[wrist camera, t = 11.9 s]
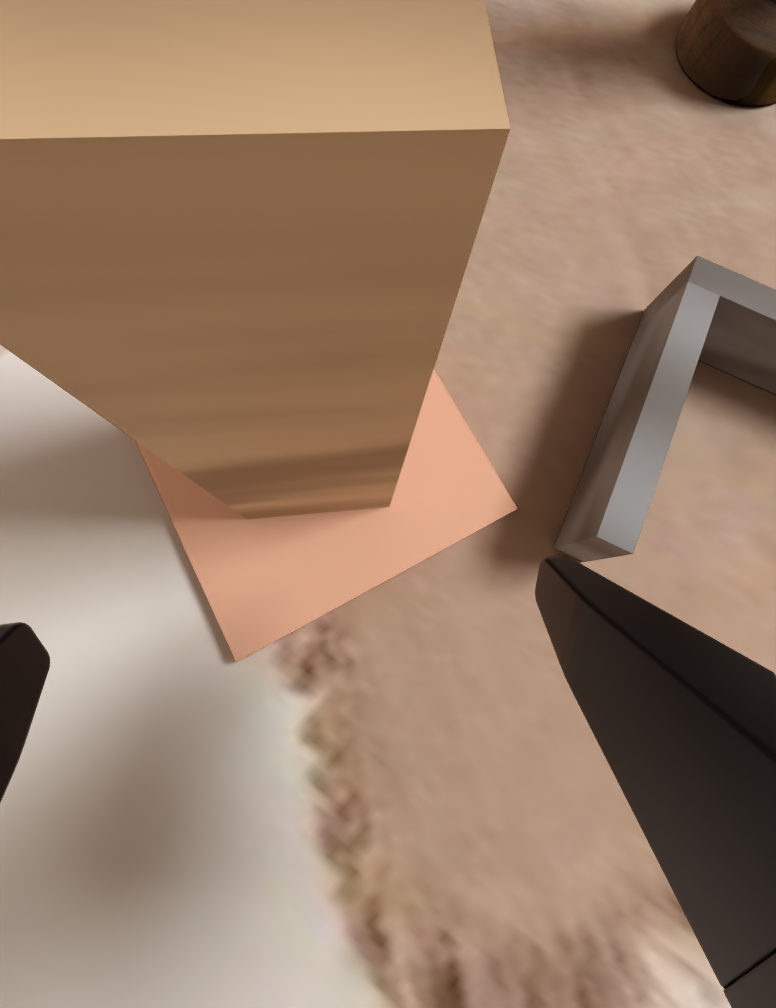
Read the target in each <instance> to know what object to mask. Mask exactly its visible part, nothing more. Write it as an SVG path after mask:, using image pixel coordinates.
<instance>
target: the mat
mask: <svg viewBox="0 0 776 1008" xmlns="http://www.w3.org/2000/svg"><path fill="white" fill-rule="evenodd" d="M135 441H136V440H135ZM136 443H137V446H138V448H139V450H140V452H141V454H142V456H143V459H144V461H145V463H146V465H147V467H148V470H149V472H150V474H151V476H152V478H153V481H154V483H155V485H156V487H157V489H158V492H159V494H160V496H161V498H162V500H163V503H164V505H165V507H166V509H167V511H168V514H169V516H170V518H171V520H172V522H173V525H174V527H175V529H176V531H177V533H178V536H179V538H180V540H181V542H182V544H183V547H184V549H185V551H186V553H187V555H188V558H189V560H190V562H191V564H192V566H193V569H194V571H195V573H196V575H197V577H198V580H199V582H200V584H201V586H202V588H203V590H204V593H205V595H206V597H207V599H208V601H209V604H210V606H211V608H212V610H213V612H214V615H215V617H216V619H217V621H218V623H219V626H220V628H221V630H222V632H223V634H224V637H225V639H226V641H227V643H228V645H229V648H230V650H231V652H232V654H233V656H234V659H235V661H236V662H238V661H240V660H242V659H243V658H245V657H247V656H249V655H251V654H253V653H254V652H256V651H258V650H260V649H262V648H264V647H265V646H267V645H269V644H271V643H273V642H275V641H276V640H278V639H280V638H282V637H284V636H286V635H287V634H289V633H291V632H293V631H295V630H297V629H298V628H300V627H302V626H304V625H306V624H308V623H309V622H311V621H313V620H315V619H317V618H319V617H320V616H322V615H324V614H326V613H328V612H330V611H331V610H333V609H335V608H337V607H339V606H341V605H342V604H344V603H346V602H348V601H350V600H352V599H353V598H355V597H357V596H359V595H361V594H363V593H364V592H366V591H368V590H370V589H372V588H374V587H375V586H377V585H379V584H381V583H383V582H385V581H386V580H388V579H390V578H392V577H394V576H396V575H397V574H399V573H401V572H403V571H405V570H407V569H408V568H410V567H412V566H414V565H416V564H418V563H419V562H421V561H423V560H425V559H427V558H429V557H430V556H432V555H434V554H436V553H438V552H440V551H441V550H443V549H445V548H447V547H449V546H451V545H452V544H454V543H456V542H458V541H460V540H462V539H463V538H465V537H467V536H469V535H471V534H473V533H474V532H476V531H478V530H480V529H482V528H484V527H485V526H487V525H489V524H491V523H493V522H495V521H496V520H498V519H500V518H502V517H504V516H506V515H507V514H509V513H511V512H513V511H515V510H516V509H517V507H516V505H515V504H514V502H513V500H512V499H511V497H510V495H509V494H508V492H507V490H506V489H505V487H504V485H503V484H502V482H501V480H500V479H499V477H498V475H497V474H496V472H495V470H494V469H493V467H492V465H491V464H490V462H489V460H488V459H487V457H486V455H485V454H484V452H483V450H482V449H481V447H480V445H479V444H478V442H477V440H476V439H475V437H474V435H473V434H472V432H471V430H470V429H469V427H468V425H467V424H466V422H465V420H464V419H463V417H462V415H461V414H460V412H459V410H458V409H457V407H456V405H455V404H454V402H453V400H452V399H451V397H450V395H449V394H448V392H447V390H446V389H445V387H444V385H443V384H442V382H441V380H440V379H439V377H438V375H437V374H436V372H435V370H434V369H433V372H432V375H431V379H430V382H429V385H428V388H427V391H426V394H425V397H424V401H423V404H422V407H421V410H420V413H419V416H418V419H417V422H416V426H415V429H414V432H413V435H412V438H411V441H410V444H409V448H408V451H407V454H406V457H405V460H404V463H403V466H402V469H401V473H400V476H399V479H398V482H397V485H396V488H395V491H394V495H393V498H392V501H391V504H390V507H380V508H369V509H358V510H347V511H336V512H325V513H314V514H303V515H292V516H281V517H270V518H259V519H248V520H247V519H246V518H244V517H243V516H241V515H240V514H239V513H237V512H236V511H234V510H233V509H232V508H230V507H229V506H227V505H226V504H225V503H223V502H222V501H220V500H219V499H217V498H216V497H215V496H213V495H212V494H210V493H209V492H208V491H206V490H205V489H203V488H202V487H201V486H199V485H198V484H196V483H195V482H193V481H192V480H191V479H189V478H188V477H186V476H185V475H184V474H182V473H181V472H179V471H178V470H177V469H175V468H174V467H172V466H171V465H170V464H168V463H167V462H165V461H164V460H162V459H161V458H160V457H158V456H157V455H155V454H154V453H153V452H151V451H150V450H148V449H147V448H146V447H144V446H143V445H141V444H140V443H138V442H137V441H136Z"/></svg>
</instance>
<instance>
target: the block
mask: <svg viewBox="0 0 776 1008" xmlns="http://www.w3.org/2000/svg"><path fill="white" fill-rule="evenodd" d="M509 131H510V125H509V120H508V115H507V110H506V105H505V100H504V95H503V90H502V85H501V80H500V75H499V70H498V65H497V60H496V56H495V51H494V46H493V41H492V36H491V31H490V26H489V21H488V16H487V11H486V6H485V1H484V0H0V345H2V346H3V347H5V348H6V349H7V350H9V351H10V352H12V353H13V354H14V355H16V356H17V357H19V358H20V359H21V360H23V361H24V362H26V363H27V364H28V365H30V366H31V367H33V368H34V369H36V370H37V371H38V372H40V373H41V374H43V375H44V376H45V377H47V378H48V379H50V380H51V381H52V382H54V383H55V384H57V385H58V386H60V387H61V388H62V389H64V390H65V391H67V392H68V393H69V394H71V395H72V396H74V397H75V398H76V399H78V400H79V401H81V402H82V403H83V404H85V405H86V406H88V407H89V408H91V409H92V410H93V411H95V412H96V413H98V414H99V415H100V416H102V417H103V418H105V419H106V420H107V421H109V422H110V423H112V424H113V425H115V426H116V427H117V428H119V429H120V430H122V431H123V432H124V433H126V434H127V435H129V436H130V437H131V438H133V439H134V440H136V441H137V442H138V443H140V444H141V445H143V446H144V447H146V448H147V449H148V450H150V451H151V452H153V453H154V454H155V455H157V456H158V457H160V458H161V459H162V460H164V461H165V462H167V463H168V464H170V465H171V466H172V467H174V468H175V469H177V470H178V471H179V472H181V473H182V474H184V475H185V476H186V477H188V478H189V479H191V480H192V481H193V482H195V483H196V484H198V485H199V486H201V487H202V488H203V489H205V490H206V491H208V492H209V493H210V494H212V495H213V496H215V497H216V498H217V499H219V500H220V501H222V502H223V503H225V504H226V505H227V506H229V507H230V508H232V509H233V510H234V511H236V512H237V513H239V514H240V515H241V516H243V517H244V518H246V519H247V520H248V519H259V518H270V517H281V516H292V515H303V514H314V513H325V512H336V511H347V510H358V509H369V508H380V507H390V504H391V501H392V498H393V495H394V491H395V488H396V485H397V482H398V479H399V476H400V473H401V469H402V466H403V463H404V460H405V457H406V454H407V451H408V448H409V444H410V441H411V438H412V435H413V432H414V429H415V426H416V422H417V419H418V416H419V413H420V410H421V407H422V404H423V401H424V397H425V394H426V391H427V388H428V385H429V382H430V379H431V375H432V372H433V369H434V366H435V363H436V360H437V357H438V354H439V350H440V347H441V344H442V341H443V338H444V335H445V332H446V328H447V325H448V322H449V319H450V316H451V313H452V310H453V307H454V303H455V300H456V297H457V294H458V291H459V288H460V285H461V281H462V278H463V275H464V272H465V269H466V266H467V263H468V260H469V256H470V253H471V250H472V247H473V244H474V241H475V238H476V234H477V231H478V228H479V225H480V222H481V219H482V216H483V213H484V209H485V206H486V203H487V200H488V197H489V194H490V191H491V187H492V184H493V181H494V178H495V175H496V172H497V169H498V166H499V162H500V159H501V156H502V153H503V150H504V147H505V144H506V140H507V137H508V134H509Z"/></svg>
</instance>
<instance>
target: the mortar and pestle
mask: <svg viewBox="0 0 776 1008" xmlns="http://www.w3.org/2000/svg"><path fill="white" fill-rule="evenodd" d="M676 51H677V56H678V59H679V61H680V64H681V65H682V67H683V69H684V71H685V73H686V74H687V75H688V76H689V77H690V78H691V80H692V81H694V82H695V83H696V84H697V85H698V86H699V87H700V88H701V89H703V90H704V91H706V92H707V93H709V94H710V95H712V96H714V97H716V98H718V99H721V100H724V101H726V102H728V103H732V104H739V105H747V106H761V105H768V104H772V103H775V102H776V0H696V1H695V3H694V5H693V6H692V8H691V10H690V11H689V13H688V15H687V17H686V18H685V20H684V22H683V24H682V26H681V28H680V30H679V33H678V36H677V41H676Z"/></svg>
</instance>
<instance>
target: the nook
mask: <svg viewBox="0 0 776 1008" xmlns="http://www.w3.org/2000/svg"><path fill="white" fill-rule="evenodd" d="M698 360H700V361H702V362H704V363H706V364H709V365H711V366H713V367H715V368H717V369H720V370H722V371H724V372H726V373H729V374H731V375H733V376H735V377H738V378H740V379H742V380H744V381H746V382H749V383H751V384H753V385H755V386H758V387H760V388H762V389H764V390H767V391H769V392H771V393H773V394H776V290H774V289H772V288H770V287H768V286H765V285H763V284H761V283H759V282H756V281H754V280H752V279H749V278H747V277H745V276H743V275H740V274H738V273H736V272H733V271H731V270H729V269H727V268H724V267H722V266H720V265H718V264H715V263H713V262H711V261H708V260H706V259H704V258H702V257H699V256H697V257H696V258H695V259H694V260H693V261H692V262H691V263H690V264H689V265H688V266H687V267H686V268H685V269H684V270H683V271H682V272H681V273H680V274H679V275H678V276H677V277H676V278H675V279H674V280H673V281H672V282H671V283H670V284H669V285H668V286H667V287H666V288H665V289H664V290H663V291H662V292H661V293H660V294H659V295H658V296H657V297H656V299H655V300H654V301H653V302H652V303H651V304H650V305H649V306H648V307H647V308H646V309H645V310H644V313H643V315H642V318H641V320H640V323H639V326H638V328H637V331H636V334H635V336H634V339H633V342H632V344H631V347H630V349H629V352H628V355H627V357H626V360H625V363H624V365H623V368H622V370H621V373H620V376H619V378H618V381H617V384H616V386H615V389H614V392H613V394H612V397H611V399H610V402H609V405H608V407H607V410H606V413H605V415H604V418H603V420H602V423H601V426H600V428H599V431H598V434H597V436H596V439H595V442H594V444H593V447H592V449H591V452H590V455H589V457H588V460H587V463H586V465H585V468H584V470H583V473H582V476H581V478H580V481H579V484H578V486H577V489H576V492H575V494H574V497H573V499H572V502H571V505H570V507H569V510H568V513H567V515H566V518H565V520H564V523H563V526H562V528H561V531H560V534H559V536H558V539H557V541H556V544H555V547H554V548H555V549H557V550H560V551H562V552H564V553H566V554H568V555H570V556H572V557H574V558H577V559H579V560H581V561H583V562H587V561H593V560H599V559H605V558H611V557H617V556H623V555H629V554H633V553H634V550H635V547H636V544H637V541H638V538H639V535H640V532H641V529H642V526H643V523H644V520H645V517H646V514H647V512H648V509H649V506H650V503H651V500H652V497H653V494H654V491H655V488H656V485H657V482H658V479H659V476H660V473H661V470H662V467H663V464H664V461H665V458H666V455H667V452H668V449H669V446H670V443H671V440H672V437H673V434H674V431H675V428H676V425H677V422H678V419H679V416H680V413H681V410H682V407H683V404H684V401H685V398H686V395H687V392H688V389H689V386H690V383H691V380H692V377H693V375H694V372H695V369H696V366H697V363H698Z"/></svg>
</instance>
